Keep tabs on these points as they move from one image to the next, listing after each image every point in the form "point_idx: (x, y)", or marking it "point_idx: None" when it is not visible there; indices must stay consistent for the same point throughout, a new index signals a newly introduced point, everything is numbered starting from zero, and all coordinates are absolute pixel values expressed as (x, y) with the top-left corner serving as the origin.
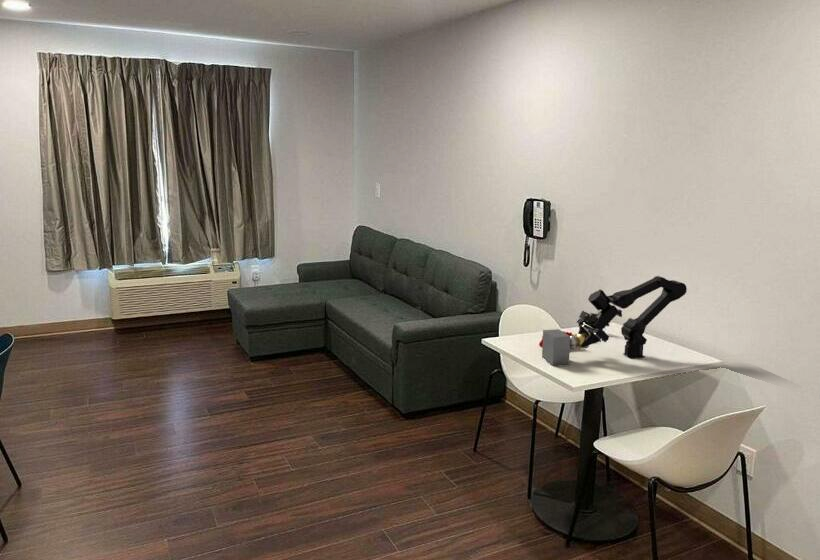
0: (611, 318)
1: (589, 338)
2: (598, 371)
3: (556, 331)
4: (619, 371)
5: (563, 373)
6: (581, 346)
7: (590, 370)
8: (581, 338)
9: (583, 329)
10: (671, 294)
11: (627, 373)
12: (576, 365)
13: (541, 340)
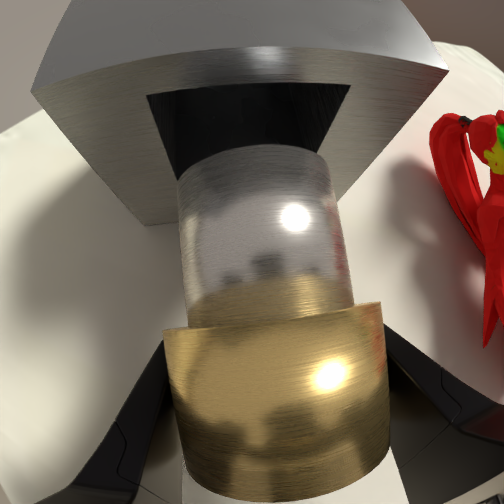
0: None
1: (100, 464)
2: (24, 367)
3: (330, 1)
4: (35, 471)
5: (32, 159)
6: (163, 342)
7: (38, 328)
8: (181, 366)
9: (468, 471)
10: None
11: (17, 484)
12: (130, 276)
13: (462, 117)
